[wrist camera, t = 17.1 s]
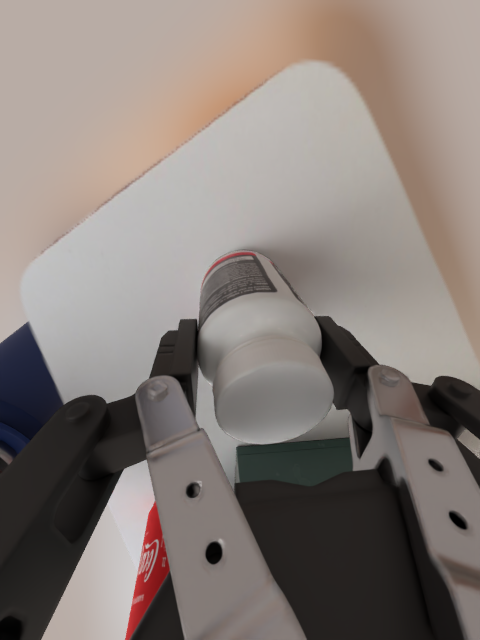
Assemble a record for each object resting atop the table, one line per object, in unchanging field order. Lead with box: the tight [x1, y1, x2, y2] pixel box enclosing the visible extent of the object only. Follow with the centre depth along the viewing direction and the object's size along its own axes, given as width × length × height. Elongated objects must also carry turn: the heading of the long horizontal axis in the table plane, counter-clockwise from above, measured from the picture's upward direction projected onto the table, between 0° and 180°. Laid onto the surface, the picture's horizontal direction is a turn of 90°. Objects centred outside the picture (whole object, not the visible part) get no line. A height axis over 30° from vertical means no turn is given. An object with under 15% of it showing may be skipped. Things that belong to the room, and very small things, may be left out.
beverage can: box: [125, 501, 170, 640], centre depth 25 cm, size 5×5×12 cm
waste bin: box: [234, 438, 353, 490], centre depth 24 cm, size 14×11×11 cm
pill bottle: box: [197, 250, 334, 444], centre depth 12 cm, size 5×5×10 cm
